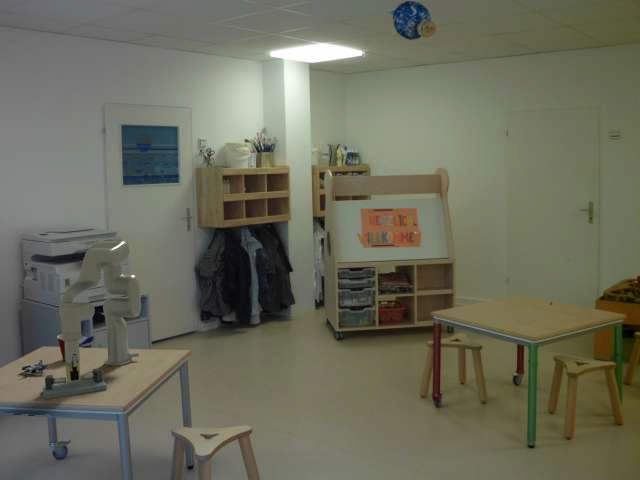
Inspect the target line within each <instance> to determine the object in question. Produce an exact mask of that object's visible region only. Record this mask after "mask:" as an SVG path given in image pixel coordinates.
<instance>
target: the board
mask: <svg viewBox="0 0 640 480" xmlns="http://www.w3.org/2000/svg"><path fill="white" fill-rule="evenodd" d="M53 386H54V387H53V388H52V390H46V387H45V385H44V386H42V391H43V392H42V393H43V395H44V399H45V400H48V399H55V398H60V397H66V396H67V397H68V396H74V395H79V394H80V395H81V394H86V393H92V392H93V393H94V392H99V391H105V390H107V386H108V385H107V383H106V382H105V380H104V379H103V382H99V383H97V382H95V381H93V378H92V379H87V380H78V381H71V382H66V383H59V384H53Z"/></svg>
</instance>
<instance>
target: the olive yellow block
mask: <svg viewBox="0 0 640 480" xmlns="http://www.w3.org/2000/svg"><path fill="white" fill-rule="evenodd" d="M72 364H73V362H72ZM72 366H73V365H72ZM78 370H79V380H75V381H74V382H78V381H81V366H80V362H79V363H78ZM70 371H71V365H70V364H69V365H68V364H67V363H65V372H66V374H65V375H66V376H65V377H66V382H67V383H71V382H72V381H71V376H70Z"/></svg>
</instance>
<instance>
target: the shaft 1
mask: <svg viewBox="0 0 640 480" xmlns="http://www.w3.org/2000/svg"><path fill="white" fill-rule="evenodd" d="M44 383H45V384H44V386H45V387H46V390H52V388H53V387H54V386H53V385H57V384H64V383H67V376H62V377H60V376H59V377H54V375H53V374H48V375H46V376H45V377H44Z"/></svg>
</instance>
